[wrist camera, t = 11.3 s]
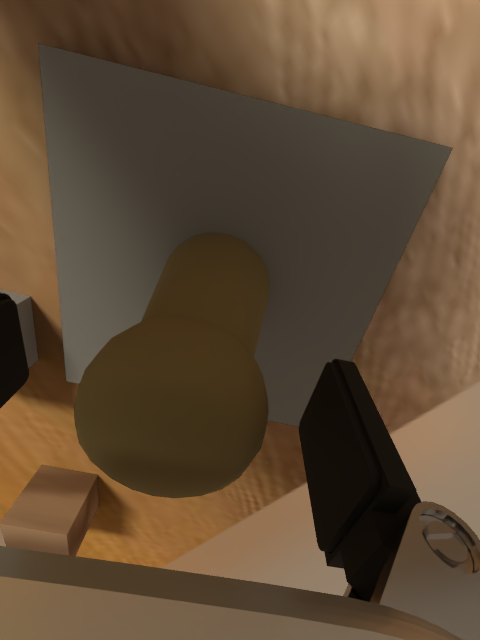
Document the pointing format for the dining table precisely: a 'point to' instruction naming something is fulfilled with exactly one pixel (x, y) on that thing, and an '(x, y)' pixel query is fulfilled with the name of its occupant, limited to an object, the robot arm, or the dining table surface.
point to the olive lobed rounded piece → (183, 377)
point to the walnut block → (52, 511)
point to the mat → (223, 209)
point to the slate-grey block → (26, 325)
